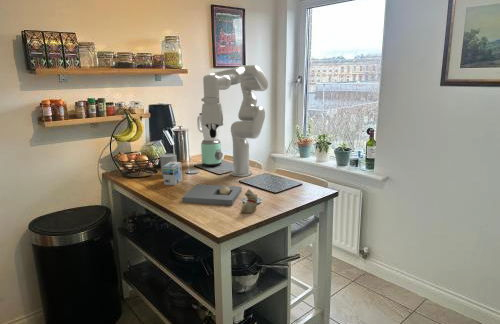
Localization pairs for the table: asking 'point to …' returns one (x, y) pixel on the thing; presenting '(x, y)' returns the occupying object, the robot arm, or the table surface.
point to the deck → (211, 195)
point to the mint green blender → (209, 145)
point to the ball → (224, 191)
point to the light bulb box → (172, 173)
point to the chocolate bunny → (249, 202)
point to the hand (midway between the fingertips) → (213, 137)
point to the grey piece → (167, 160)
